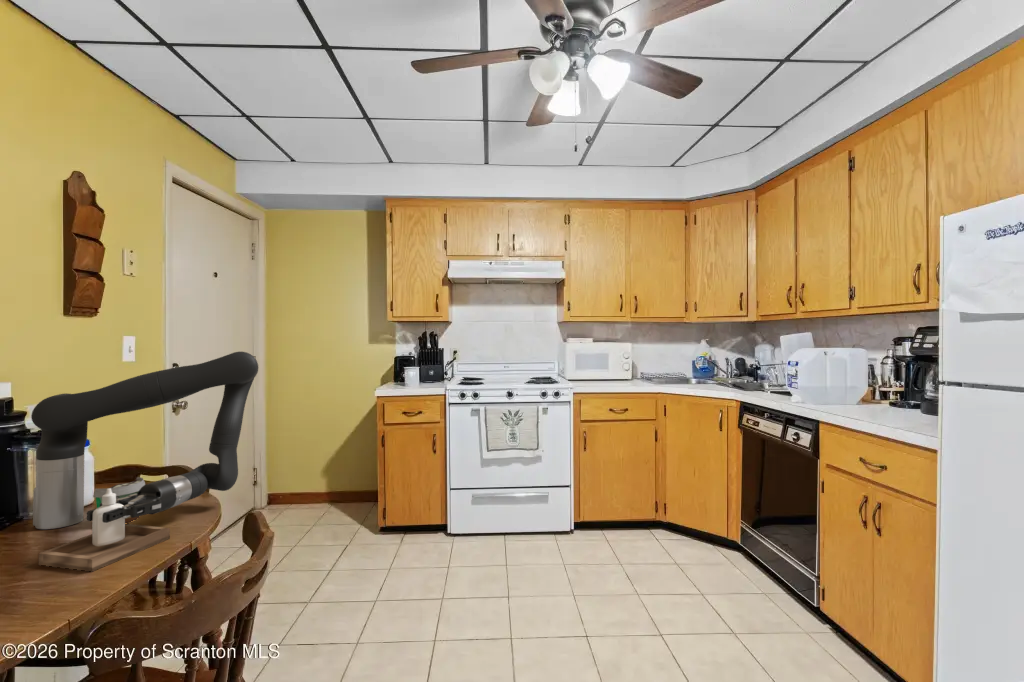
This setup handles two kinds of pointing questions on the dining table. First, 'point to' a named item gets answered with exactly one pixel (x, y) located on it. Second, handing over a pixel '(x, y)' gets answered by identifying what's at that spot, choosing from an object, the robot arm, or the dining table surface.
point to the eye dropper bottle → (110, 530)
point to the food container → (121, 492)
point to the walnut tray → (103, 549)
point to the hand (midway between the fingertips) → (96, 517)
